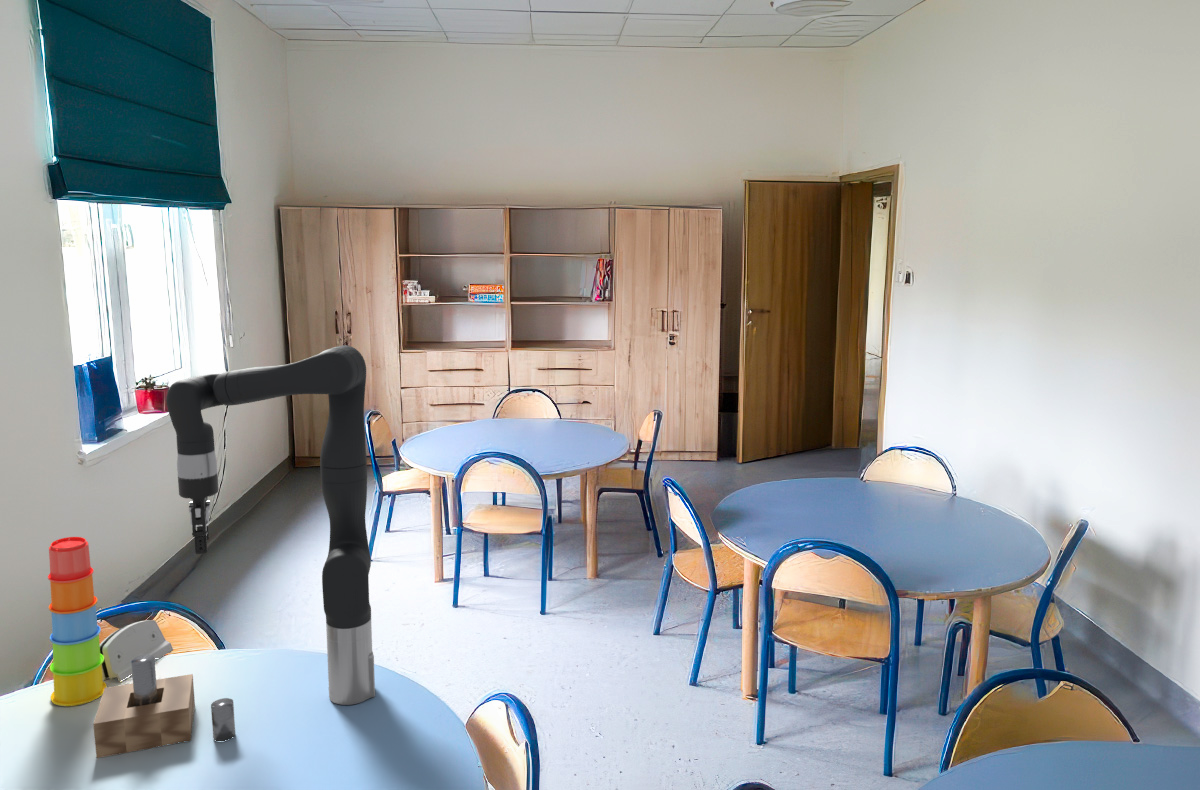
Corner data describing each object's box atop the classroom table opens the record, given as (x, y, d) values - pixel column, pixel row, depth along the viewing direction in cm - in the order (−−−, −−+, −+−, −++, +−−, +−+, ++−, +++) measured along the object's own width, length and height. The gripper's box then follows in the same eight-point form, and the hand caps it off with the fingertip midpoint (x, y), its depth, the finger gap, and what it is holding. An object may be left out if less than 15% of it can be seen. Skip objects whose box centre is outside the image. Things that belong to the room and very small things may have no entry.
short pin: (235, 728, 170) (233, 696, 168) (235, 739, 166) (233, 706, 165) (213, 732, 168) (211, 700, 167) (212, 743, 165) (210, 710, 163)
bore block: (194, 704, 178) (192, 673, 177) (190, 740, 165) (188, 707, 164) (107, 719, 172) (104, 687, 171) (96, 758, 159) (93, 723, 158)
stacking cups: (111, 679, 188) (98, 529, 182) (101, 703, 178) (86, 545, 172) (58, 686, 184) (43, 534, 178) (44, 710, 175) (27, 550, 169)
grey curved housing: (119, 683, 186) (103, 641, 185) (103, 687, 188) (87, 645, 187) (174, 648, 202) (159, 610, 201) (158, 652, 204) (144, 614, 203)
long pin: (160, 722, 171) (155, 653, 169) (158, 733, 168) (153, 662, 165) (138, 726, 170) (132, 656, 167) (135, 737, 166) (130, 666, 164)
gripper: (216, 479, 172) (220, 555, 175) (218, 462, 185) (222, 533, 188) (174, 483, 169) (180, 560, 172) (180, 465, 182) (185, 537, 185)
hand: (202, 546), depth 180 cm, fingers open, 8 cm apart
